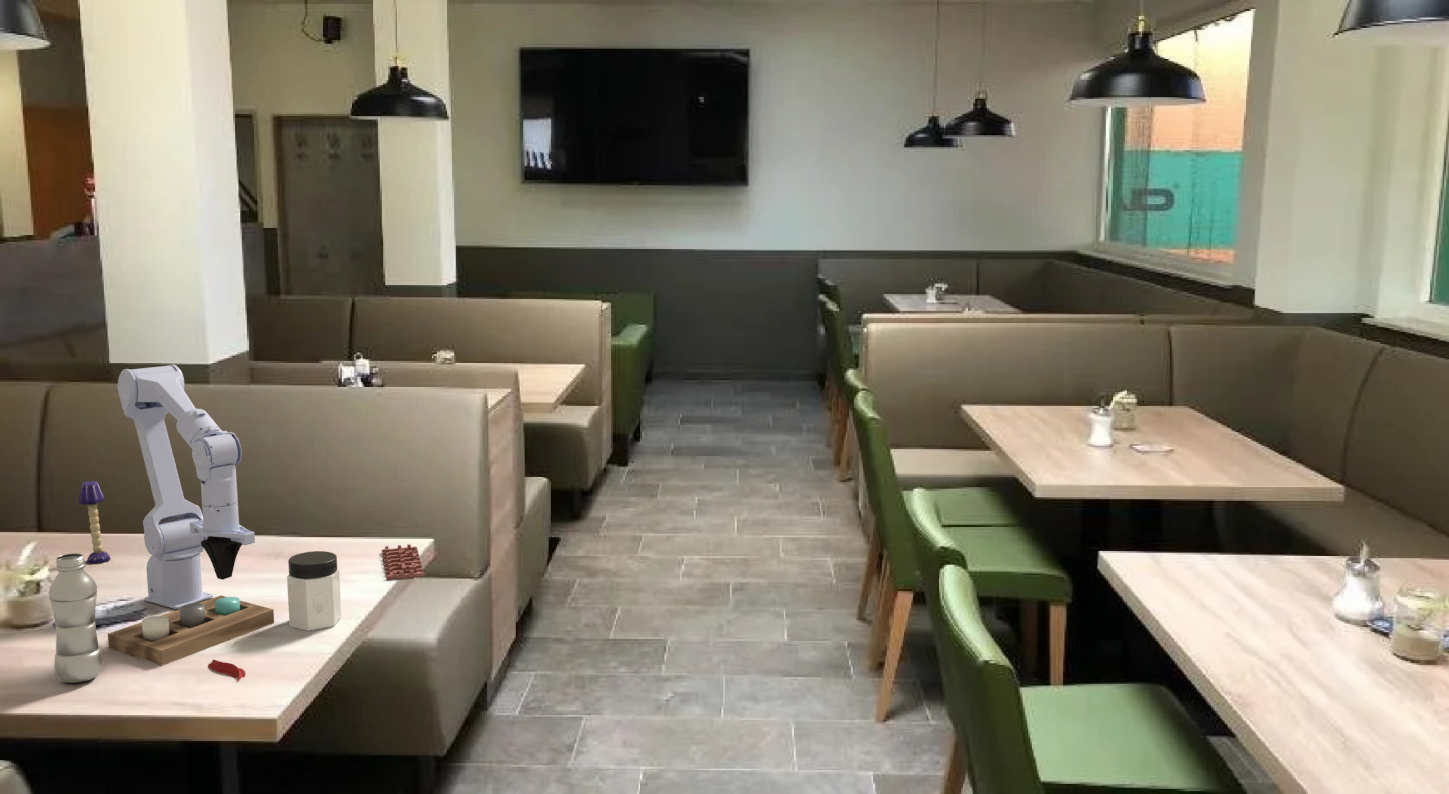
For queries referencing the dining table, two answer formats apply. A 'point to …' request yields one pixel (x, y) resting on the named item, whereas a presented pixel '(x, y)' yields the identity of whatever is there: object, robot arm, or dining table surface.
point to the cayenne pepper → (227, 669)
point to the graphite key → (192, 615)
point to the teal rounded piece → (227, 605)
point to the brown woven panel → (402, 563)
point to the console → (191, 633)
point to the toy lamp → (93, 519)
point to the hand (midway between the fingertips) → (224, 577)
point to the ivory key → (155, 627)
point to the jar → (313, 590)
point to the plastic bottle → (75, 621)
